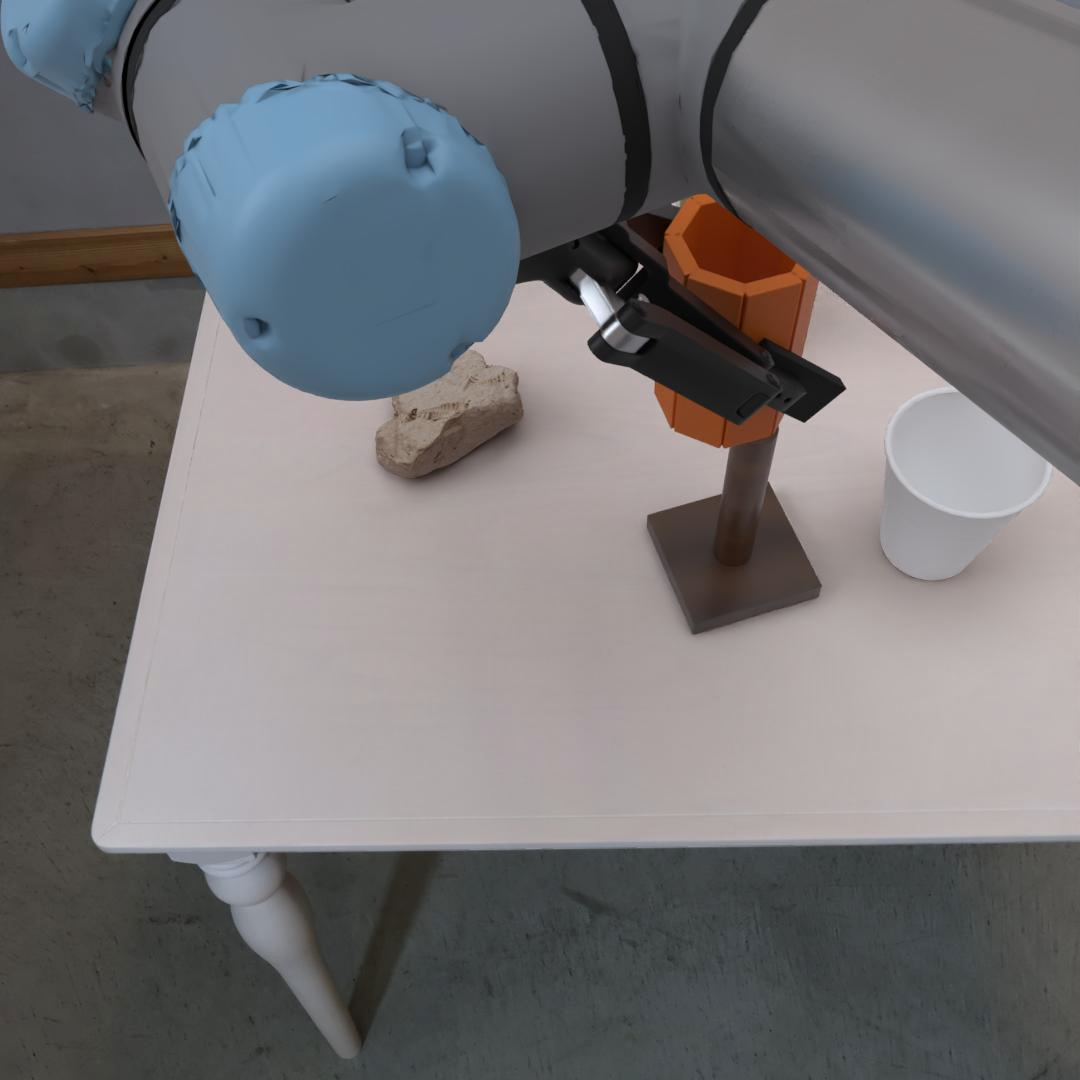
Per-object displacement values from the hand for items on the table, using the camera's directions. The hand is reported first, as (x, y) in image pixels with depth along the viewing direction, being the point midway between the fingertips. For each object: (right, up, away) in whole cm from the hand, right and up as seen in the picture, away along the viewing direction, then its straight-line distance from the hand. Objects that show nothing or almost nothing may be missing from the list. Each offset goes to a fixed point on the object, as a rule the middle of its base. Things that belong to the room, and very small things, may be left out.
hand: (791, 346), depth 58 cm
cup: (+13, -10, +19) cm, 26 cm away
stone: (-19, -2, +26) cm, 33 cm away
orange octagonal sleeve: (-3, -2, +2) cm, 4 cm away
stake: (0, -11, +19) cm, 22 cm away
